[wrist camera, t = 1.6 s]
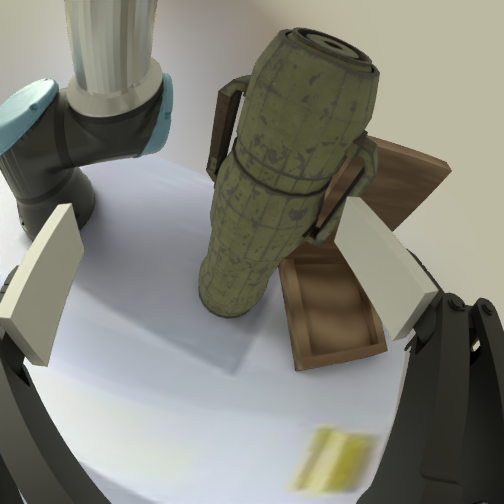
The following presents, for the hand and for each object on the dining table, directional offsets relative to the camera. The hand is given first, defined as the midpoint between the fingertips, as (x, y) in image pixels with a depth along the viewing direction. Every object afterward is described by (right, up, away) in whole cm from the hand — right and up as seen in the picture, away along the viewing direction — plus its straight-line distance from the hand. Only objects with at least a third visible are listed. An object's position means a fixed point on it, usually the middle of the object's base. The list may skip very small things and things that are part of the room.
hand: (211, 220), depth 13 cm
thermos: (-2, -7, +29) cm, 30 cm away
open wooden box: (+14, -10, +31) cm, 35 cm away
